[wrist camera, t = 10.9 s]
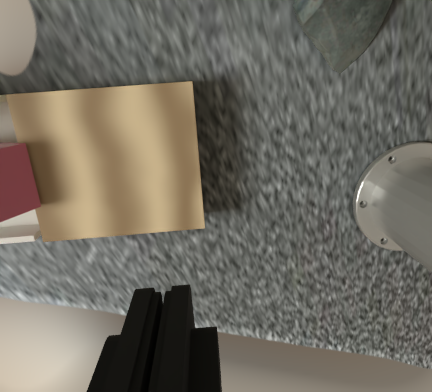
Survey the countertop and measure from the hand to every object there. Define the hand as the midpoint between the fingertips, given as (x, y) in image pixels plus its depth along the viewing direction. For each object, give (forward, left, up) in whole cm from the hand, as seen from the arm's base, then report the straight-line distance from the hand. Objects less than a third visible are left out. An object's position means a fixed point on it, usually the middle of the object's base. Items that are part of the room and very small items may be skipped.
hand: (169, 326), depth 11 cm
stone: (-16, -12, -27) cm, 34 cm away
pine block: (+7, 0, -27) cm, 28 cm away
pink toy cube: (+17, 0, -24) cm, 29 cm away
